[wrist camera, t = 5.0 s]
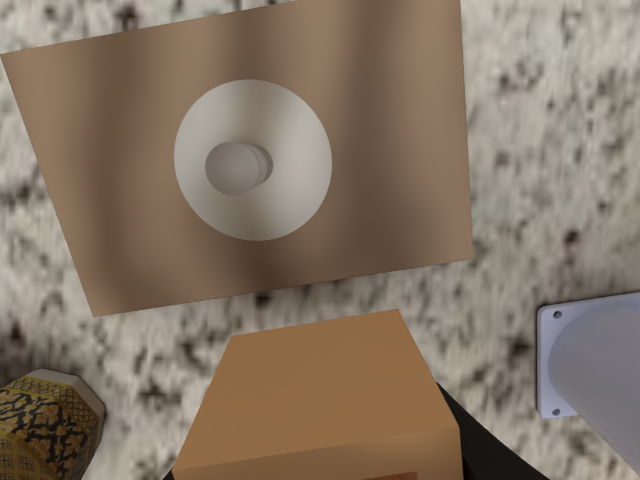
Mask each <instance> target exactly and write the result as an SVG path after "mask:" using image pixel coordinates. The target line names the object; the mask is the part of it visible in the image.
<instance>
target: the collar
mask: <svg viewBox="0 0 640 480" xmlns="http://www.w3.org/2000/svg"><path fill="white" fill-rule="evenodd" d="M172 473H173V476H174V479H175V480H463V468H462V455H461V443H460V431H459V426H458V424H457V422H456V420H455V418H454V416H453V414H452V412H451V410H450V408H449V407H448V405H447V403H446V401H445V399H444V397H443V395H442V393H441V391H440V389H439V387H438V385H437V384H436V382H435V380H434V378H433V376H432V374H431V372H430V370H429V368H428V366H427V364H426V363H425V361H424V359H423V357H422V355H421V353H420V351H419V349H418V347H417V345H416V343H415V342H414V340H413V338H412V336H411V334H410V332H409V330H408V328H407V326H406V324H405V322H404V321H403V319H402V317H401V315H400V313H399V311H398V309H396V310H389V311H383V312H377V313H371V314H365V315H359V316H353V317H346V318H340V319H334V320H328V321H322V322H316V323H310V324H303V325H297V326H291V327H285V328H279V329H273V330H267V331H260V332H254V333H248V334H242V335H236V336H231V339H230V341H229V343H228V345H227V348H226V350H225V352H224V354H223V357H222V359H221V361H220V363H219V365H218V368H217V370H216V372H215V374H214V377H213V379H212V381H211V383H210V386H209V388H208V390H207V392H206V395H205V397H204V399H203V401H202V404H201V406H200V408H199V410H198V413H197V415H196V417H195V419H194V422H193V424H192V426H191V428H190V431H189V433H188V435H187V437H186V440H185V442H184V444H183V446H182V449H181V451H180V453H179V455H178V458H177V460H176V462H175V464H174V467H173V469H172Z"/></svg>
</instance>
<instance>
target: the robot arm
mask: <svg viewBox="0 0 640 480" xmlns="http://www.w3.org/2000/svg"><path fill="white" fill-rule="evenodd" d="M556 311H558V312H557V314H556V315H554V313H555V312H556ZM553 315H554V316H553ZM435 382H436V381H435ZM436 384H437V385H438V387H439V389H440V391H441V393H442V395H443V397H444V399H445V401H446V403H447V405H448V407H449V408H450V410H451V412H452V414H453V416H454V418H455V420H456V422H457V424H458V426H459V431H460V443H461V455H462V468H463V480H550V479H548V478H547V477H546V476H544V475H543V474H541V473H540V472H539V471H537V470H536V469H535V468H533V467H532V466H531V465H529V464H528V463H527V462H525V461H524V460H523V459H522V458H520V457H519V456H518V455H516V454H515V453H514V452H513V451H512V450H510V449H509V448H508V447H507V446H505V445H504V444H503V443H502V442H500V441H499V440H498V439H497V438H496V437H495V436H493V435H492V434H491V433H490V432H489V431H488V430H487V429H485V428H484V427H483V426H482V425H481V424H480V423H479V422H478V421H476V420H475V419H474V418H473V417H472V416H471V415H470V414H469V413H468V412H467V411H466V410H465V409H464V408H463V407H462V406H460V405H459V404H458V403H457V402H456V401H455V400H454V399H453V398H452V397H451V396H450V395H449V394H448V393H447V392H446V391H445V390H444V389H443V387H442V386H441V385H440V384H438V383H437V382H436ZM537 391H538V413H539V414H540V416H541V417H542V418H544V419H552V418H559V417H567V416H574V415H580V416H581V417H582V418H583V419H584V420H585V421H586V422H587V423H588V424H589V426H590V427H591V428H592V429H593V430H594V431H595V432H596V433H597V434H598V435H599V436H600V437H601V438H602V439H603V440H604V441H605V442H606V443H607V444H608V445H609V446H610V447H611V448H612V449H613V450H614V451H615V452H616V453H617V454H618V455H619V456H620V457H621V458H622V459H623V460H624V461H625V462H626V463H627V464H628V465H629V466H630V467H631V468H632V469H633V470H634V471H635V472H636V473H637V474H638V475H639V476H640V292H637V293H630V294H623V295H616V296H610V297H603V298H596V299H589V300H583V301H576V302H569V303H562V304H556V305H549V306H544V307H542V308H540V309H539V311H538V314H537ZM554 409H555V410H554ZM553 410H554V411H553ZM173 467H174V466H173ZM172 469H173V468H172ZM172 469H171V470H170V471H169V472H168V474H167V475H166V476H165V477H164V478H163V480H175V479H174V476H173V473H172Z"/></svg>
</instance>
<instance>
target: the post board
mask: <svg viewBox="0 0 640 480" xmlns="http://www.w3.org/2000/svg"><path fill="white" fill-rule="evenodd" d="M0 57H1V60H2V63H3V65H4V68H5V71H6V74H7V77H8V79H9V82H10V85H11V88H12V91H13V93H14V96H15V99H16V102H17V105H18V107H19V110H20V113H21V116H22V119H23V121H24V124H25V127H26V130H27V133H28V135H29V138H30V141H31V144H32V147H33V149H34V152H35V155H36V158H37V161H38V163H39V166H40V169H41V172H42V175H43V177H44V180H45V183H46V186H47V189H48V191H49V194H50V197H51V200H52V203H53V205H54V208H55V211H56V214H57V217H58V219H59V222H60V225H61V228H62V231H63V233H64V236H65V239H66V242H67V245H68V247H69V250H70V253H71V256H72V259H73V261H74V264H75V267H76V270H77V273H78V275H79V278H80V281H81V284H82V287H83V289H84V292H85V295H86V298H87V301H88V303H89V306H90V309H91V312H92V315H93V317H98V316H105V315H111V314H118V313H124V312H131V311H137V310H144V309H150V308H157V307H163V306H170V305H176V304H183V303H189V302H196V301H202V300H209V299H215V298H222V297H228V296H235V295H241V294H248V293H254V292H261V291H267V290H274V289H281V288H287V287H294V286H300V285H307V284H313V283H320V282H326V281H333V280H339V279H346V278H352V277H359V276H365V275H372V274H378V273H385V272H391V271H398V270H404V269H411V268H417V267H424V266H430V265H437V264H443V263H450V262H456V261H463V260H469V259H473V242H472V222H471V203H470V183H469V164H468V145H467V125H466V106H465V86H464V67H463V47H462V28H461V8H460V0H297V1H292V2H286V3H281V4H275V5H270V6H264V7H259V8H253V9H248V10H242V11H236V12H231V13H225V14H220V15H214V16H209V17H203V18H198V19H192V20H187V21H181V22H175V23H170V24H164V25H159V26H153V27H148V28H142V29H137V30H131V31H126V32H120V33H114V34H109V35H103V36H98V37H92V38H87V39H81V40H76V41H70V42H65V43H59V44H54V45H48V46H42V47H37V48H31V49H26V50H20V51H15V52H9V53H4V54H0Z"/></svg>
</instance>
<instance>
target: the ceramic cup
mask: <svg viewBox="0 0 640 480" xmlns="http://www.w3.org/2000/svg"><path fill="white" fill-rule="evenodd" d="M104 413H105V406H104V404H103V403H102V402H101V401H100V400H99V399H98V397H97V396H96V395H95V394H94V393H93V392H92V391H91V389H90V388H89V387H88V386H87V385H86V384H85V382H84V381H83V380H82V379H81V378H80V377H78V376H75V375H70V374H65V373H61V372H56V371H51V370H47V369H39V370H34V371H32V372H30V373H28V374H27V375H25V376H23V377H21V378H19V379H17V380H15V381H13V382H12V383H10V384H8V385H6V386H5V387H3V388H1V389H0V480H81V479H82V477H83V475H84V473H85V471H86V469H87V468H88V466H89V464H90V462H91V460H92V458H93V456H94V454H95V452H96V450H97V448H98V446H99V444H100V441H101V436H102V428H103V421H104Z"/></svg>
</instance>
